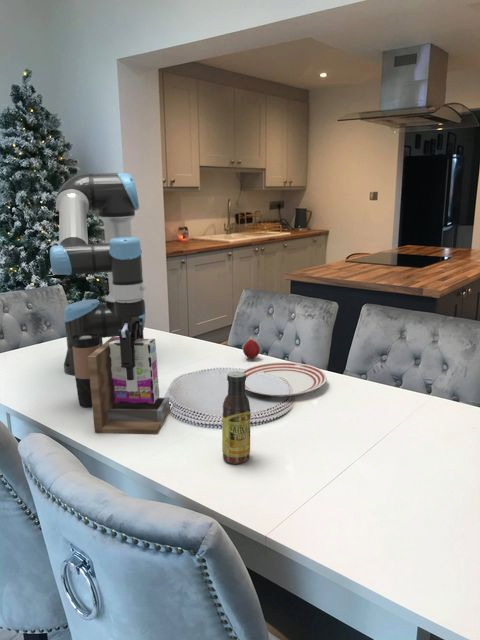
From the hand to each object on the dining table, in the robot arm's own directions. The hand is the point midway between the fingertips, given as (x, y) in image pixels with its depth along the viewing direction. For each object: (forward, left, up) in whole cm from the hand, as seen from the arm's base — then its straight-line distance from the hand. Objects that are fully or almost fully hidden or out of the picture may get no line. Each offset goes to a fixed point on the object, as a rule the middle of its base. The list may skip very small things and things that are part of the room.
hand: (135, 386), depth 138 cm
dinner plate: (-26, +37, -9) cm, 47 cm away
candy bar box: (0, 0, -4) cm, 4 cm away
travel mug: (-10, -17, -9) cm, 21 cm away
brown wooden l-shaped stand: (0, 0, -9) cm, 9 cm away
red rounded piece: (-51, +26, -9) cm, 58 cm away
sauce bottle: (+20, +28, -9) cm, 36 cm away
